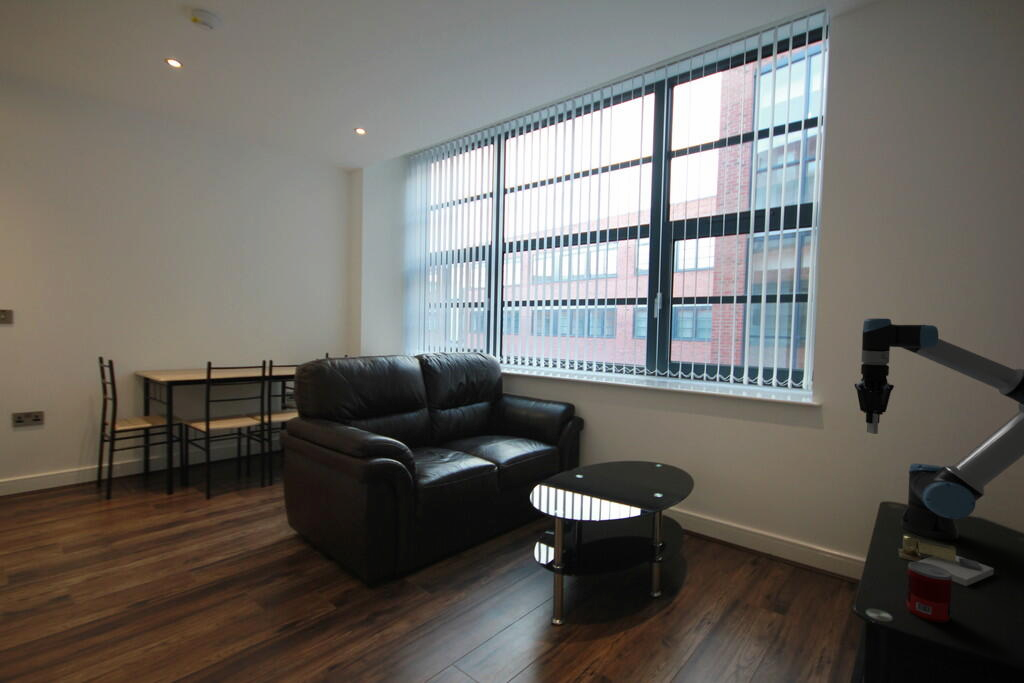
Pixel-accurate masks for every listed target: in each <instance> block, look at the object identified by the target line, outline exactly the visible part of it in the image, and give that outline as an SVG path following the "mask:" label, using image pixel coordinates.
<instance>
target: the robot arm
mask: <svg viewBox="0 0 1024 683" xmlns="http://www.w3.org/2000/svg"><path fill="white" fill-rule="evenodd" d="M861 342H862V343H861V361H860V362H861V367H860V375H862V377H861V380H860V382H859V383H855V384H854V387H855V390H856V394H857V398H858V405H859V410H860V411H861V412H863V413H864V414H865V422H866V433H869V434H872V435H873V434H874V435H875V434H876V435H877V434H878V433H879V432H878V431H879V430H878V429H879V424H880V420H881V419H880V416H881V415H883V414H884V413H886V412H887V408H888V405H889V400H890V397H891V393H892V391H893V389H894V387H895V385H894V384H891V383H890V382H889V381H888V378H887V377H888V376H889V375H890V366H889V365H888V364H890V350H891V348H901V349H904V350H905V351H909V352H912V353H914V354H916V355H919V356H921V357H923V358H925V359H928V360H930V361H931V362H934V363H937V364H940V365H942V366H944V367H945V368H949V369H950V370H953V371H956V372H957V373H960V374H963V375H965V376H967V377H969V378H971V379H974V380H976V381H979V382H981V383H983V384H986V385H988V386H990V387H992V388H995V389H997V390H998V392H999V393H1000V394H1001V395H1003V396H1005V397H1008V398H1010V399H1011V400H1014V401H1016V402H1017V403H1018V404H1017V405H1018V412H1017V413H1016V414H1015V415H1014V416H1012V417H1011V418H1010V419H1009V420H1007V421H1006V422H1005V423H1004V424H1003V425H1002V426H1001V427H999V428H998V429H997V430H995V431H994V432H993V433H992V434H990V436H988V437H987V438H986V439H984V440H983V441H982V442H981V443H979V445H977V446H976V447H975V448H973V450H971V451H970V452H969V453H968V454H967V455H965V456H964V457H963V458H961V459H960V460H959V461H957V463H956V464H954V465H944V466H942V465H941V466H939V465H934V464H924V463H912V464H910V466H909V470H908V494H907V495H908V496H907V497H908V499H907V501H908V502H907V506H906V508H905V510H904V512H903V514H902V516H901V518H900V526H901V527H902V528H903V529H904V530H906V531H908V532H911V533H912V534H915V535H919V536H923V537H925V538H931V539H935V540H943V541H956V540H958V539H959V536H960V534H959V529H958V526H957V523H956V520H959V519H964V518H966V517H969V516H970V515H971V514H972V513H973V512H974V510H976V501H978V500H979V499H981V498H982V497H983V496H984V495H985V490H984V487H986V486H987V485H988V484H989V483H990V482H991V481H993V480H994V479H996V478H997V477H998V476H999V475H1000V474H1002V473H1003V472H1004V471H1005V470H1006V469H1009V468H1010V467H1011V466H1012V465H1013V464H1014V463H1015V462H1017V461H1019V460H1020V459H1021V458H1022V457H1023V456H1024V369H1022V368H1017V369H1014V368H1011V367H1009V366H1006V365H1004V364H1002V363H999V362H997V361H994V360H992V359H990V358H987V357H985V356H982V355H980V354H977V353H975V352H972V351H970V350H967V349H964V348H962V347H960V346H957V345H955V344H953V343H951V342H947V341H945V340H943V339H941V338H939V329H938V328H937V327H936V326H935V325H931V324H930V325H929V324H928V325H927V324H893V323H892V320H891V319H890V318H880V317H879V318H866V319H864V321H863V326H862V341H861Z"/></svg>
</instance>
